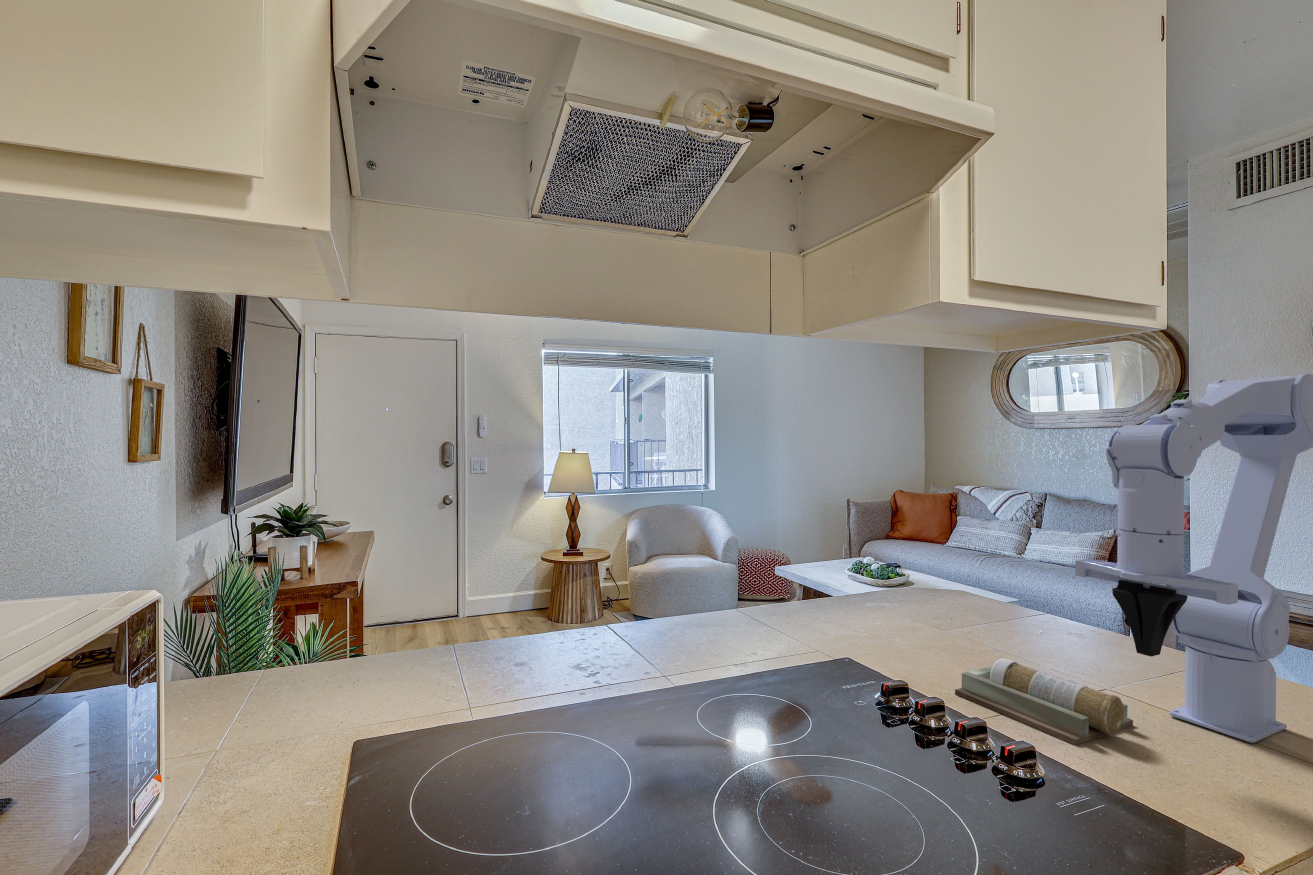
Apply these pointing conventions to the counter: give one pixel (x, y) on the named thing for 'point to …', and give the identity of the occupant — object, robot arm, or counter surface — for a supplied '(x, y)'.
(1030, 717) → the bottle rest
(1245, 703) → the robot arm
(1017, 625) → the counter surface
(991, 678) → the sprinkles bottle
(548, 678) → the counter surface
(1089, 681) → the counter surface
